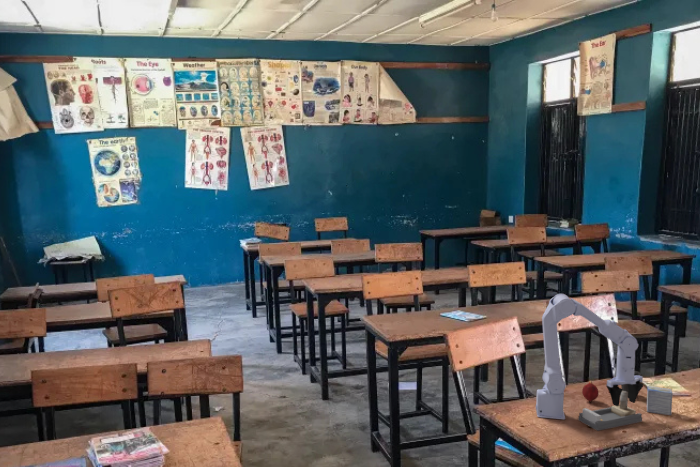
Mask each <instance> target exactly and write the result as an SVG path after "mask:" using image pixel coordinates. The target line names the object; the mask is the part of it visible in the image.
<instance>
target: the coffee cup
mask: <svg viewBox="0 0 700 467" xmlns="http://www.w3.org/2000/svg"><path fill="white" fill-rule="evenodd" d="M635 375H639V376H642V377H643V374H642V373H641V372H640V371H637V370H634V376H635ZM620 386H621V389H623V390H622V391H626V392H628V399H629V390H628V385H627V384H623V385H620Z"/></svg>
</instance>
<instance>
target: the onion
mask: <svg viewBox="0 0 700 467" xmlns="http://www.w3.org/2000/svg"><path fill="white" fill-rule="evenodd" d="M581 393H582V396H583V397H584V399H585V400H586V401H588V402H589V401H590V402H593V401H595V400H596V399H597V398H598V397H599V389H598V387H597V386H596V385H595V384H594V383H593V382H592V380H590V381H588V383H587V384H585V385H584V386H583V387H582V390H581Z"/></svg>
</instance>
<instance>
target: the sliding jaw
mask: <svg viewBox="0 0 700 467" xmlns="http://www.w3.org/2000/svg"><path fill="white" fill-rule="evenodd" d="M628 402H629V398H628V392H626V391H622V392H621V395H620V402H619V406H615V405H612V406H611V407H612V409H611V412H613V413H615V414H617V415H619V416H621V417H622V416H627V415H632V414H637V412H636V411H637V410H636V409H633V408H631V407H629V406H628V404H629V403H628Z"/></svg>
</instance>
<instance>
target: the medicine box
mask: <svg viewBox="0 0 700 467" xmlns="http://www.w3.org/2000/svg"><path fill="white" fill-rule="evenodd" d="M646 390H647V391H646V392H647V393H646V412H647V413H652V414H659V415H666V416H667V415H668V416H672V408H673V396H674V395H673V391H672V389H671V388H668V387H667V388H665V387H661V386H660V387H658V386H651V385H648V386H647V389H646Z"/></svg>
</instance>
